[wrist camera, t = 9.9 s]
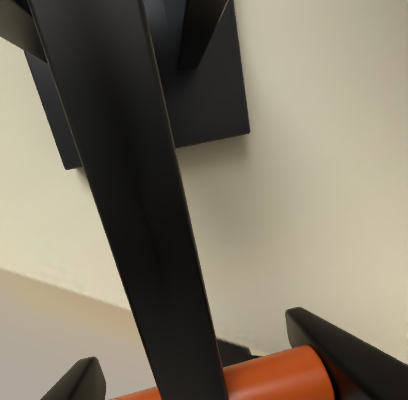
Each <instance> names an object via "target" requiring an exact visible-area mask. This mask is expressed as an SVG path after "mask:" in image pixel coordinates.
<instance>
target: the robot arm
mask: <svg viewBox="0 0 408 400" xmlns="http://www.w3.org/2000/svg"><path fill="white" fill-rule="evenodd" d="M285 317H286V325H287V333H288V338H289V341H290V344H291V347H292V348H295V347H299V346H302V345H309V346H311V347H312V348H313V349H314V350H315V352H316V353H317V354H318V356H319V358H320V359H321V361H322V363H323V364H324V366H325V368H326V371H327V373H328V375H329V378H330V380H331V383H332V387H333V391H334V396H335V400H408V365H407V364H405V363H403V362H401V361H399V360H397V359H396V358H394V357H392V356H390V355H388V354H386V353H384V352H383V351H381V350H379V349H377V348H375V347H373V346H372V345H370V344H368V343H366V342H364V341H362V340H361V339H359V338H357V337H355V336H353V335H351V334H350V333H348V332H346V331H344V330H342V329H340V328H339V327H337V326H335V325H333V324H331V323H329V322H327V321H326V320H324V319H322V318H320V317H318V316H316V315H315V314H313V313H311V312H309V311H307V310H305V309H304V308H302V307H295V308H291V309H287V310H286V312H285ZM105 394H106V382H105V378H104V375H103V372H102V369H101V367H100V364H99V361H98V359H97V358H96V357H88V358H84V359H81V360H79V361H77V362H76V363H75V364H74V366H72V368H71V369H70V370H69V371H68V372H67V373H66V374H65V375H64V376H63V377H62V378H61V379H60V380H59V381H58V382H57V383H56V384H55V385H54V386H53V387H52V388H51V389H50V390H49V391H48V392H47V394H45V395H44V396H43V398H42V399H41V400H105Z"/></svg>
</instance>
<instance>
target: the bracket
mask: <svg viewBox="0 0 408 400" xmlns="http://www.w3.org/2000/svg"><path fill="white" fill-rule="evenodd" d="M143 1H144V6H145V10H146V15H147V20H148V24H149V29H150V34H151V38H152V43H153V48H154V52H155V57H156V62H157V66H158V71H159V76H160V80H161V85H162V89H163V94H164V99H165V103H166V108H167V113H168V117H169V122H170V127H171V131H172V136H173V141H174V145H175V148H180V147H185V146H190V145H195V144H200V143H205V142H210V141H215V140H220V139H225V138H230V137H235V136H240V135H245V134H249V133H250V126H249V118H248V110H247V102H246V95H245V87H244V79H243V71H242V63H241V56H240V48H239V40H238V32H237V24H236V16H235V9H234V1H233V0H143ZM0 37H2V38H4V39H5V40H7V41H9V42H10V43H12V44H14V45H16V46H17V47H19V48H21V49H23V50H24V53H25V56H26V59H27V62H28V65H29V68H30V70H31V73H32V76H33V79H34V82H35V85H36V88H37V90H38V93H39V96H40V99H41V102H42V105H43V108H44V110H45V113H46V116H47V119H48V122H49V125H50V128H51V131H52V133H53V136H54V139H55V142H56V145H57V148H58V151H59V153H60V156H61V159H62V162H63V165H64V168H65V169H66V170H70V169H75V168H80V167H83V165H82V162H81V159H80V156H79V153H78V150H77V147H76V144H75V141H74V138H73V135H72V132H71V129H70V126H69V123H68V120H67V117H66V114H65V112H64V109H63V106H62V103H61V100H60V97H59V94H58V91H57V88H56V85H55V82H54V79H53V76H52V73H51V70H50V67H49V64H48V61H47V58H46V55H45V52H44V49H43V46H42V43H41V40H40V37H39V34H38V31H37V28H36V25H35V22H34V20H33V17H32V14H31V11H30V8H29V5H28V2H27V0H0Z"/></svg>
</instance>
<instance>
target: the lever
mask: <svg viewBox="0 0 408 400" xmlns="http://www.w3.org/2000/svg"><path fill="white" fill-rule="evenodd" d="M27 2H28V5H29V8H30V11H31V14H32V17H33V20H34V22H35V25H36V28H37V31H38V34H39V37H40V40H41V43H42V46H43V49H44V52H45V55H46V58H47V61H48V64H49V67H50V70H51V73H52V76H53V79H54V82H55V85H56V88H57V91H58V94H59V97H60V100H61V103H62V106H63V109H64V112H65V114H66V117H67V120H68V123H69V126H70V129H71V132H72V135H73V138H74V141H75V144H76V147H77V150H78V153H79V156H80V159H81V162H82V165H83V168H84V171H85V174H86V177H87V180H88V183H89V186H90V189H91V192H92V195H93V198H94V201H95V204H96V206H97V209H98V212H99V215H100V218H101V221H102V224H103V227H104V230H105V233H106V236H107V239H108V242H109V245H110V248H111V251H112V254H113V257H114V260H115V263H116V266H117V269H118V272H119V275H120V278H121V281H122V284H123V287H124V290H125V293H126V296H127V298H128V301H129V304H130V307H131V310H132V313H133V316H134V319H135V322H136V325H137V328H138V331H139V334H140V337H141V340H142V343H143V346H144V349H145V352H146V355H147V358H148V361H149V363H150V367H151V370H152V372H153V376H154V379H155V382H156V384H157V387H153V388H150V389H146V390H142V391H139V392H135V393H132V394H128V395H125V396H121V397H118V398H114V399H111V400H335V396H334V391H333V387H332V383H331V380H330V378H329V375H328V373H327V371H326V368H325V366H324V364H323V363H322V361H321V359H320V358H319V356H318V354H317V353H316V352H315V350H314V349H313V348H312V347H311V346H309V345H302V346H299V347H295V348H292V349H288V350H284V351H281V352H277V353H274V354H270V355H267V356H263V357H260V358H256V359H252V360H249V361H245V362H242V363H238V364H235V365H231V366H228V367H224V368H222V364H221V359H220V354H219V350H218V345H217V340H216V336H215V331H214V326H213V322H212V317H211V313H210V308H209V303H208V299H207V294H206V289H205V285H204V280H203V275H202V271H201V266H200V261H199V257H198V252H197V247H196V243H195V238H194V234H193V229H192V224H191V220H190V215H189V210H188V206H187V201H186V196H185V192H184V187H183V182H182V178H181V173H180V168H179V164H178V159H177V155H176V150H175V145H174V141H173V136H172V131H171V127H170V122H169V117H168V113H167V108H166V103H165V99H164V94H163V89H162V85H161V80H160V76H159V71H158V66H157V62H156V57H155V52H154V48H153V43H152V38H151V34H150V29H149V24H148V20H147V15H146V10H145V6H144V1H143V0H27Z"/></svg>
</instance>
